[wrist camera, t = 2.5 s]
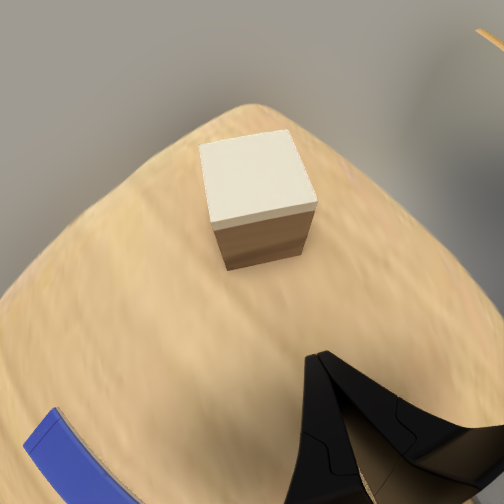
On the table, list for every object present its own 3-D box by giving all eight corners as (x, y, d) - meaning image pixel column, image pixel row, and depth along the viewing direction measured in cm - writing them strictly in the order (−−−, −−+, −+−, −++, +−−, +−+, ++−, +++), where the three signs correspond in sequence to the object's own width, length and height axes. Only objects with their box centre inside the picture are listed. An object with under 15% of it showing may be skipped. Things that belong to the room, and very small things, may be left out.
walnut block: (300, 254, 23) (318, 201, 15) (227, 270, 22) (210, 222, 15) (281, 194, 25) (287, 129, 18) (215, 207, 25) (198, 145, 17)
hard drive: (149, 515, 13) (52, 407, 17) (104, 541, 11) (21, 446, 14) (155, 508, 15) (62, 406, 18) (111, 535, 12) (30, 444, 16)
